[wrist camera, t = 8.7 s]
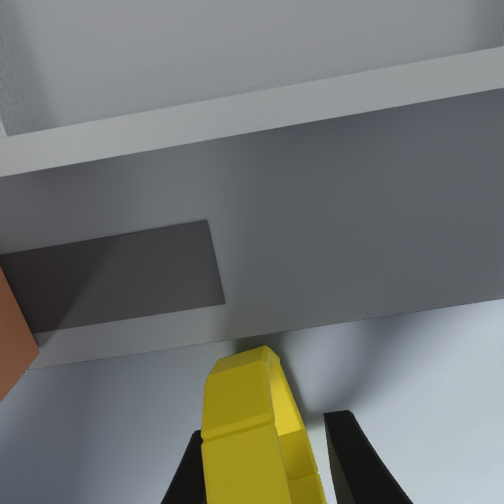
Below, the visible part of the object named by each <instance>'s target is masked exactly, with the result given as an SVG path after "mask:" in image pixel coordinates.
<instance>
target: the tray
mask: <svg viewBox="0 0 504 504" xmlns="http://www.w3.org/2000/svg"><path fill="white" fill-rule="evenodd" d="M499 88H504V0H0V177H2V176H8V175H13V174H19V173H25V172H30V171H36V170H42V169H47V168H53V167H59V166H64V165H70V164H75V163H81V162H87V161H92V160H98V159H104V158H109V157H115V156H121V155H126V154H132V153H138V152H143V151H149V150H154V149H160V148H166V147H171V146H177V145H183V144H188V143H194V142H200V141H205V140H211V139H216V138H222V137H228V136H233V135H239V134H245V133H250V132H256V131H262V130H267V129H273V128H279V127H284V126H290V125H295V124H301V123H307V122H312V121H318V120H324V119H329V118H335V117H341V116H346V115H352V114H358V113H363V112H369V111H374V110H380V109H386V108H391V107H397V106H403V105H408V104H414V103H420V102H425V101H431V100H436V99H442V98H448V97H453V96H459V95H465V94H470V93H476V92H482V91H487V90H493V89H499Z"/></svg>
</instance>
